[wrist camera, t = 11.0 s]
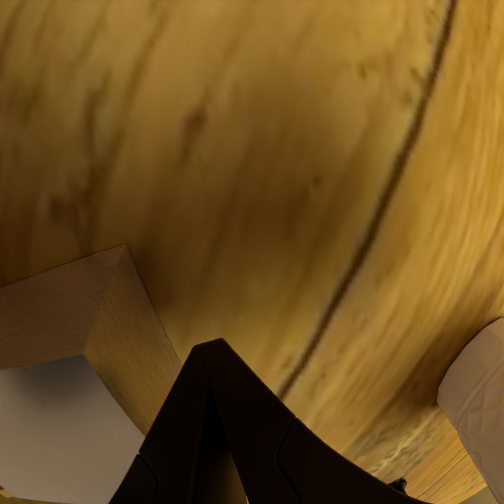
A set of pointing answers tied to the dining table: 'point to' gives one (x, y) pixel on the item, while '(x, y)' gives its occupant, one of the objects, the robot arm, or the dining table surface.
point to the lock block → (79, 378)
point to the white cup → (479, 403)
